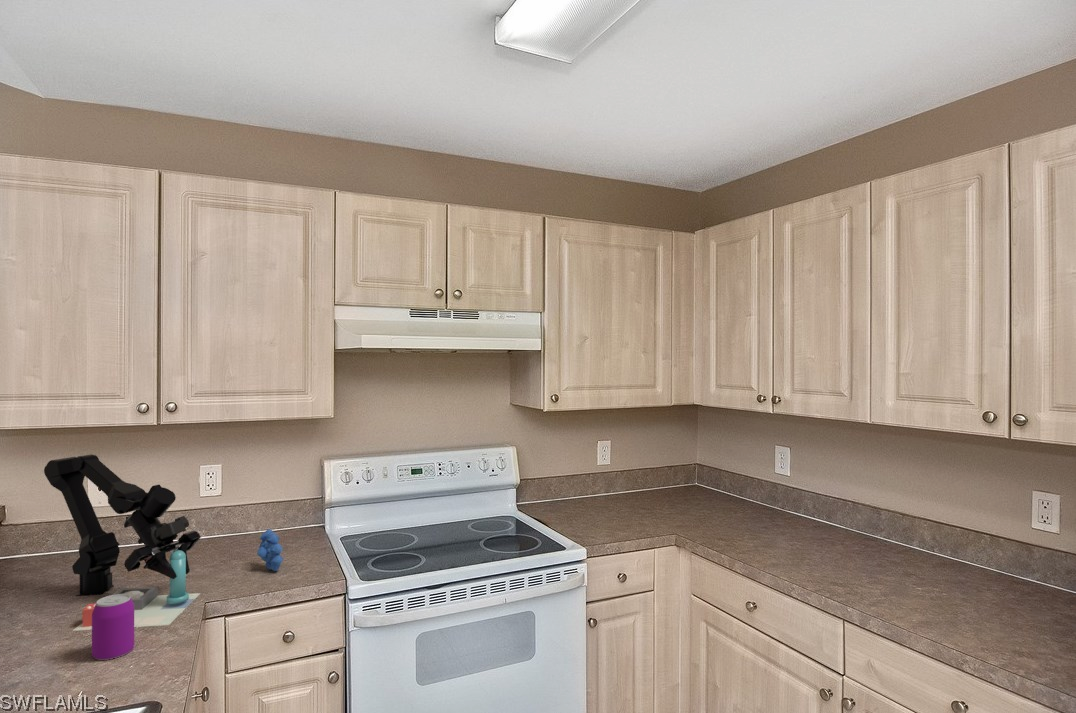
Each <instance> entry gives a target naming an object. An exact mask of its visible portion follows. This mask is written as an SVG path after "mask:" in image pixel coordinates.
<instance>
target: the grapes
mask: <svg viewBox="0 0 1076 713" xmlns="http://www.w3.org/2000/svg"><path fill="white" fill-rule="evenodd" d="M259 538H260V540H261V542H260V543H259V546H258V549H257V552H256V555H258V556H259V558H261V560H263V562H265V568H267V569H268V570H269V571H270V570H271V569H272V571H274V572H278V571H279V569H280V568H281V564H282V563H283V560H284V557H283V556H282V555H281V553H282V551H283V549H284V547H283V546H282V545H281V544H280V543H279V541H280V536H279V535H278V534H276V533H275V532H274V530H272V529H270V528H268V529H266V530H265V531H264V532H262V533H261V536H260V537H259Z"/></svg>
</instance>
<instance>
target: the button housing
mask: <svg viewBox="0 0 1076 713" xmlns="http://www.w3.org/2000/svg"><path fill="white" fill-rule="evenodd" d="M158 588H159V586H147V587H145V586H144V587H128V588H125V587H123V588H120V589H118V590H117V591H116V592H114V593H113V594H112V595H115V594H124V593H126V592H129V591H140V592H143V593H144V595H142V596H141V597H140V598H136V599H132V601H133V604H134V610H142V609H143V608H145V607H146V606H147V605H148V604H149V603H150V602H151V601H153V600H154V599H155V598H156V597H157V596H158V595H159V591H158V590H159V589H158Z"/></svg>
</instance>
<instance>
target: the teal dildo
mask: <svg viewBox="0 0 1076 713" xmlns="http://www.w3.org/2000/svg"><path fill="white" fill-rule="evenodd" d="M169 564H170V565H171V567H172V568H173V570H174V571H175V573H176V575H177V577H176V578H175V579H172V578H170V577H169V594H167V595H168V596H167V603H169V604H177V603H181V602H184V601H187V600H188V599H189V594H190V593H189V591H187V588H186V587H187V584H186V583H187V582H186V581H187V580H186V579H187V574H186V555H185V553H184V552H183V551H180V550H177V551H175V552H173V553H172V554H171V553H170V556H169Z"/></svg>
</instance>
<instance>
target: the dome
mask: <svg viewBox="0 0 1076 713" xmlns="http://www.w3.org/2000/svg"><path fill="white" fill-rule="evenodd" d="M124 594H128V595H130V597H131V599H136V598H140V597H141V596H142V595H144V593H143V592H140V591H129V592H126V593H124Z"/></svg>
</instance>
